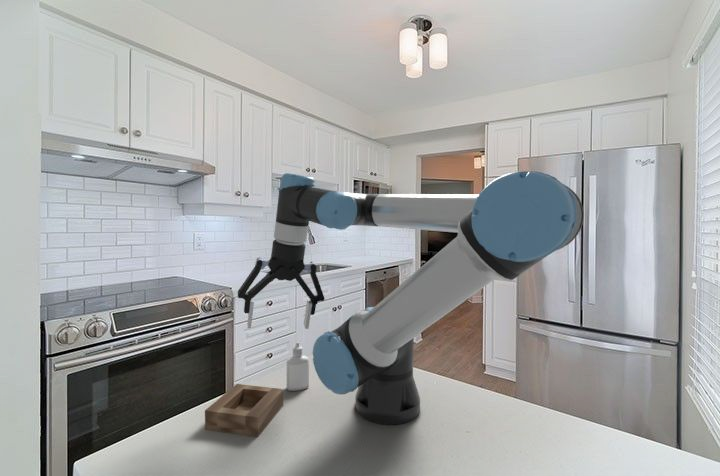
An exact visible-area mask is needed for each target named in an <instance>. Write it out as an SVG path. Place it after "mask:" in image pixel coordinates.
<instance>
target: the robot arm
mask: <svg viewBox="0 0 720 476" xmlns="http://www.w3.org/2000/svg"><path fill="white" fill-rule="evenodd" d="M315 182H316V181H315V178H314V177H312V176H307V175H302V174H296V173H289V172H288V173H287V172H286V173H283V174H282V176H281V180H280V185H279V188H278V199H277V207H276V216H275V223H274V231H273V238H274V240H272V244H271V245H272V246H271V247H272V248H271V254H270V259H269V260H268V259H267V260H266V259H262V258H261V257H257V258H256V260H255V265H254V267H253V269H252V270H251V271H250V273H249V275H248V276H247V277H246V279H245V280H244V282H243V283H242V284H241V286H240V288H239V289H238V290H237V298H238V299H243V300H244V306H243V312H244V313H245V314H248V316H247V325H246V326H247V329H251V328H252V321H253V314H254V313H253V312H254V306H255V305H254V304H255V299H254V298H255V297H256V296H257V295H258V294H259V293H260V292H261V291H263V290H264V288H265V287H267V286H268V285H269V284H270V283H272V282H273V281H274V280H275V279H276V280H278V281H288V282H291V281H293V280H295V281H296V282H297V283H298V284H299V285H300V287H301V288H302V290H303V291H304V292H305V294H306V296H307V297H308V299H306V306H305V313H304V320H303V326H304V329H307V330H309V327H310V321H311V316H314V315H315V313H316V308H317V305H318V302H325V295H324V293H323V290H322V287H321V284H320V282H319V278H318V275H317V264H315V262H314V261H310V262H304V260H305V253H306V252H305V251H306V244H305V243H306V242H307V240H308V239H307V237H308V231H309V223H310V222H312V223H313V224H318V225H321V226H324V227H326V228H328V229H335V230H342V231H344V230H346V229H347V228H349V227H351V226H363V227H376V228H377V227H380V228H381V227H383V228H393V229H394V228H395V229H396V228H397V229H408V230H420V231H421V230H422V231H434V232H443V233H444V232H446V233H447V232H448V233H457V235H456V237H455V238H453V239H452V240H451V241H450V242H448V243H447V244H446V245H445V246H444V247H443V248H441V250H439V252H437V253H436V254H434V256H432V257H431V258H430V259H429V260H428V261H426V262H425V263H424V264H423V265H422V266H421V267H420V268H418V269H417V270H416V271H415V272H413V274H411V275H409V277H407V279H405V280H404V281H403V282H402V283H401V284H400V285H398V286H397V287H396V288H394V289H393V291H392V292H390V293H389V294H388V295H387V296H385V298H383V299H382V300H381V301H380V302H378V304H376V305H375V306H369V307H365V308H364V310H358V311H357V312H355V313H353V315H351V316H350V317H349V318H347V319H346V320H345V321H344V322H343V323H342V324H341V325H340V326H338V327H337V328H335V329H334V330H331V331H329V330H328V331H325V332H324V333H323V334H321V335H320V336H319V337H317V338H316V340H315V342H314V344H313V347H312V363H313V367H314V370H315V373H316V375H317V376H318V379H319V380H320V382H321V383H322V384H323V385H324V386H325V388H327V390H329V391H331V392H332V393H334V394H336V395H346V394H348V393H350V392H351V393H352V392H355V391H356V393H355V399H354V400H355V410H356V413H357V414H359V415H360V416H361V417H362V418H363V419H366V420H368V421H370V422H374V423H376V424H381V425H401V424H405V423H407V422H410V421H413V420H414V419H416V417H418V415H419V414H420V411H421V397H420V394H419V391H418V387H417V383H416V381H415V378H414V373H413V372H414V339H415V338H416V337H417V336H419V334H421V333H422V332H424V331H425V330H427V329H429V328H430V326H432V325H433V324H435V323H437V321H439V320H441V319H442V318H443V317H445V316H446V315H448V314H449V313H450V312H451V311H453V310H454V309H456V308H457V307H458V306H460V305H461V304H463V303H464V302H465V301H467V300H468V299H470V298H471V297H473V296H474V295H475V294H476V293H478V292H480V291H481V290H482V289H484V288H485V287H486V286H487V285H490V283H492V282H493V281H495V280H500V281H501V280H502V281H507V282H511V281H513V280H515V279H516V278H518V277H519V276H521V275H522V274H523V273H525V272H526V271H528V270H529V269H530V268H532V267H534V266H535V265H536V264H538V263H539V262H541V261H542V260H543V259H544V258H545V259H546V258H547V257H548V256H549V255H551V254H552V253H554V252H556V251H558V250H560V249H563V248H564V247H566V246H568V245H569V244H571V242H573V241H574V240H575V238H576V237H578V235H579V233H580V231H581V229H582V227H583V223H584V220H585V219H584V218H585V212H584V208H583V204H582V202H581V199H580V198H579V196H578V195H577V193H576V192H575V191H574V190H573V189H571V188H570V187H569V186H567V185H565V184H564V183H563V182H561V181H560V180H559V179H558V178H556V177H555V176H553V175H551V174H548V173H544V172H541V171H536V170H535V171H534V170H524V171H523V170H521V171H514V172H509V173H505V174H503V175H501V176H499V177H497V178H496V179H494V180H492V181H491V182H490V183H488V184H486V186H485V187H484V188H483V189H482V190H481V191H480V193H479V194H468V193H467V194H463V193H461V194H459V193H458V194H457V193H456V194H455V193H454V194H449V193H447V194H443V193H442V194H436V193H435V194H431V193H430V194H429V193H427V194H425V193H423V194H422V193H421V194H420V193H419V194H417V193H415V194H413V193H409V194H407V193H406V194H405V193H402V194H401V193H399V194H398V193H397V194H396V193H392V194H391V193H387V194H385V193H380V194H379V193H356V192H348V191H339V190H331V189H326V188H320V187H317V186H315ZM266 267H268V269H269V270H270V271H268V272H267V273H266V275H265V276H263V277H262V278H261V280H259V281H258V282H257V283H256V284H255V285H254V286H253V287H251V286H252V284H253V283H254V281H255V280H256V279H257V277H258V276H259V274H260V272H261V270H264V269H265V268H266ZM305 269H306V271H307V273H309V276H310V278H311V281H312V284H313V286H314V289H315V293H316V294H314V293H313V291H312V289H310V287H309V286H308V284H307V283H306V281H305V280H304V279H303V277H302V275H301V273H302V272H303V271H304V270H305ZM250 287H251V288H250ZM249 288H250V289H249ZM356 389H357V390H356Z"/></svg>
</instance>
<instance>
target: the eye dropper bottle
mask: <svg viewBox="0 0 720 476" xmlns="http://www.w3.org/2000/svg"><path fill="white" fill-rule="evenodd" d="M309 364H310V361H309V357H308V356H306V355H304V354H303V346H301V345H300V342H299V341H297V342H296V343H295V346H293V348H292V356H290V357H288V358H287V360H286V389H287V390H288V391H290V392H296V391H303V390H306V389H308V388H309V386H310V365H309Z"/></svg>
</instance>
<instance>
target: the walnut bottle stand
mask: <svg viewBox="0 0 720 476" xmlns="http://www.w3.org/2000/svg"><path fill="white" fill-rule="evenodd" d="M283 407H284V388H277V387H270V386H269V387H268V386H267V387H266V386H258V385H249V384H240V383H236V384H235V385H233V386H232V387H231V388H230V389H229V390H228V391H226V392H225V393H224V394H223V395H221V396H220V397H219V398H218V399H216V400H215V401H214V402H213V403H212V404H211V405H209V406H208V407H206V409H204V429H205V430H209V431H215V432H216V431H217V432H223V433H230V434H236V435H243V436H249V437H259V436H260V435H261V434H262V432H263V431H264V430H266V428H267V427H268V425H269V424H270V423H271V422H272V420H273V419H274V418H275V417H276V415H278V413H279V412H280V410H281V409H282V408H283Z"/></svg>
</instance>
